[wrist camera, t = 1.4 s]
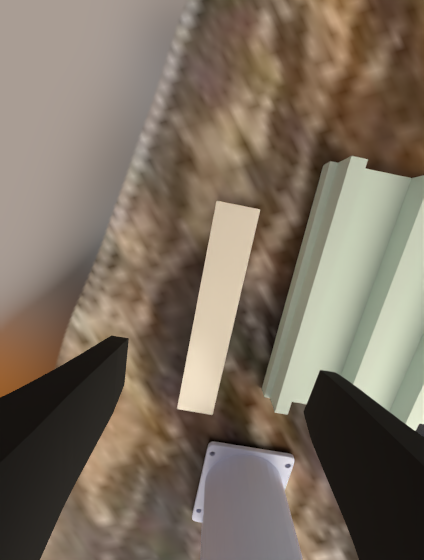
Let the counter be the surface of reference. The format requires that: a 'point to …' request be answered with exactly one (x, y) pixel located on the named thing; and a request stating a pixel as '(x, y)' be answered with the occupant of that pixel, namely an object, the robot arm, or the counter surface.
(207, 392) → the clay strip
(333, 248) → the ridged mint rail
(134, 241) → the counter surface
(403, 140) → the counter surface
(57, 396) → the robot arm
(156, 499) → the counter surface
